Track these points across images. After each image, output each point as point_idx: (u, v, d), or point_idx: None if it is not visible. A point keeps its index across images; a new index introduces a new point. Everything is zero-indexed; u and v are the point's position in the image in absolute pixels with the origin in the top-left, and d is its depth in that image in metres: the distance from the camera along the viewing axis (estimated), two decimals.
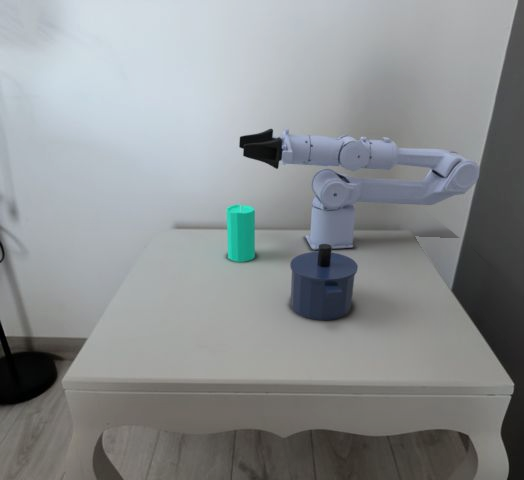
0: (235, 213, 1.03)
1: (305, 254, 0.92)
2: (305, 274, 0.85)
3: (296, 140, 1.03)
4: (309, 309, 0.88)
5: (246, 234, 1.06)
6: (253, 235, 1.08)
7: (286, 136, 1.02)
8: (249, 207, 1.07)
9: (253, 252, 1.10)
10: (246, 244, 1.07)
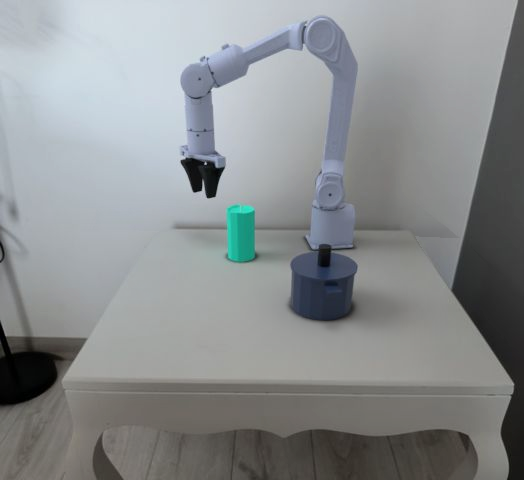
0: (235, 213, 1.03)
1: (305, 254, 0.92)
2: (305, 274, 0.85)
3: (197, 146, 1.06)
4: (309, 309, 0.88)
5: (246, 234, 1.06)
6: (253, 235, 1.08)
7: (195, 156, 1.07)
8: (249, 207, 1.07)
9: (253, 252, 1.10)
10: (246, 244, 1.07)
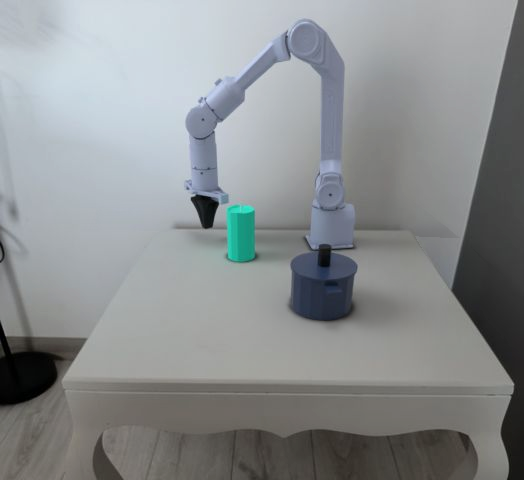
0: (235, 213, 1.03)
1: (305, 254, 0.92)
2: (305, 274, 0.85)
3: (201, 183, 1.09)
4: (309, 309, 0.88)
5: (246, 234, 1.06)
6: (253, 235, 1.08)
7: (199, 193, 1.10)
8: (249, 207, 1.07)
9: (253, 252, 1.10)
10: (246, 244, 1.07)
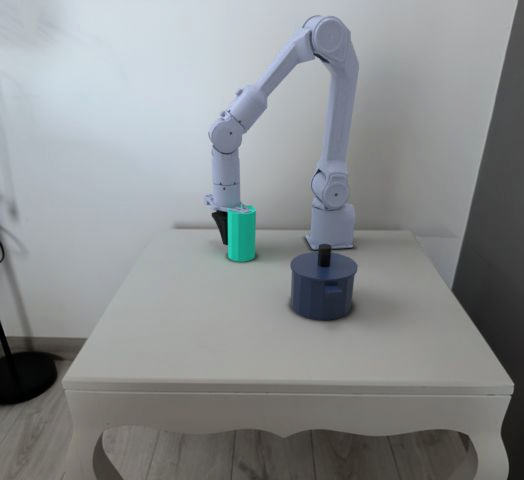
0: (236, 213, 1.03)
1: (305, 254, 0.92)
2: (305, 274, 0.85)
3: (224, 199, 1.05)
4: (309, 309, 0.88)
5: (246, 235, 1.06)
6: (254, 235, 1.08)
7: (221, 209, 1.06)
8: (250, 207, 1.07)
9: (253, 252, 1.10)
10: (246, 244, 1.07)
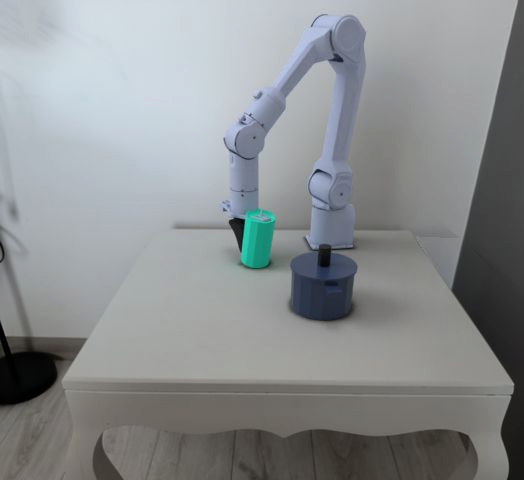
0: (256, 222, 0.99)
1: (305, 254, 0.92)
2: (305, 274, 0.85)
3: (242, 206, 1.02)
4: (309, 309, 0.88)
5: (264, 243, 1.02)
6: (270, 243, 1.04)
7: (238, 216, 1.03)
8: (269, 213, 1.03)
9: (268, 258, 1.07)
10: (263, 252, 1.04)
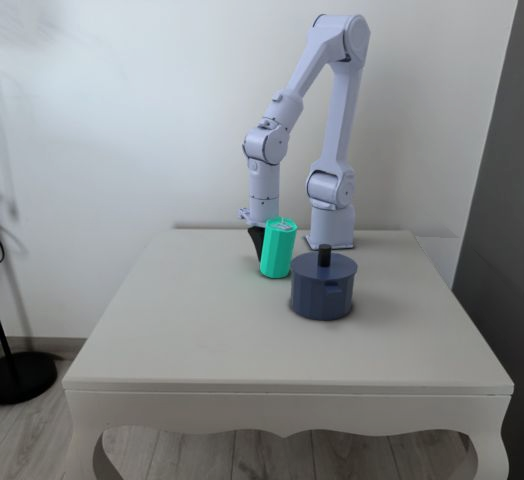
0: (277, 231, 0.95)
1: (305, 254, 0.92)
2: (305, 274, 0.85)
3: (262, 214, 0.98)
4: (309, 309, 0.88)
5: (285, 252, 0.98)
6: (291, 252, 1.00)
7: (258, 225, 0.99)
8: (290, 221, 0.99)
9: (288, 268, 1.03)
10: (283, 261, 1.00)
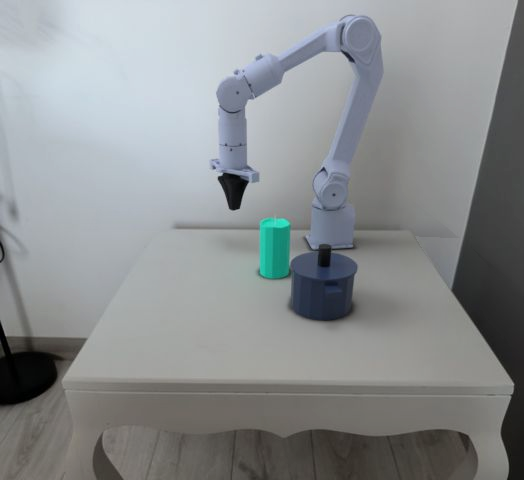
0: (271, 228, 0.97)
1: (305, 254, 0.92)
2: (305, 274, 0.85)
3: (230, 161, 1.03)
4: (309, 309, 0.88)
5: (281, 250, 0.99)
6: (288, 250, 1.01)
7: (227, 171, 1.04)
8: (283, 220, 1.01)
9: (287, 268, 1.03)
10: (281, 260, 1.00)
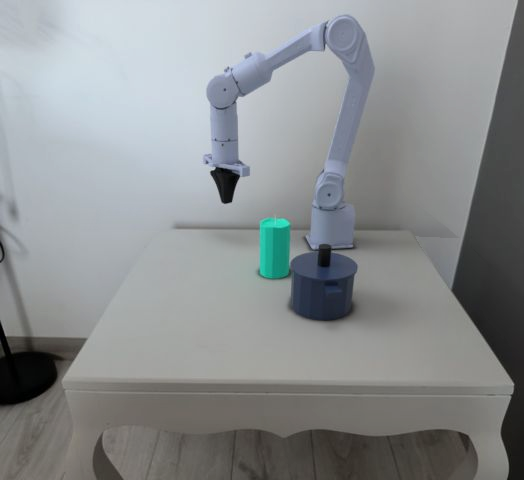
0: (271, 228, 0.97)
1: (305, 254, 0.92)
2: (305, 274, 0.85)
3: (222, 156, 1.07)
4: (309, 309, 0.88)
5: (281, 250, 0.99)
6: (288, 250, 1.01)
7: (219, 166, 1.08)
8: (283, 220, 1.01)
9: (287, 268, 1.03)
10: (281, 260, 1.00)
